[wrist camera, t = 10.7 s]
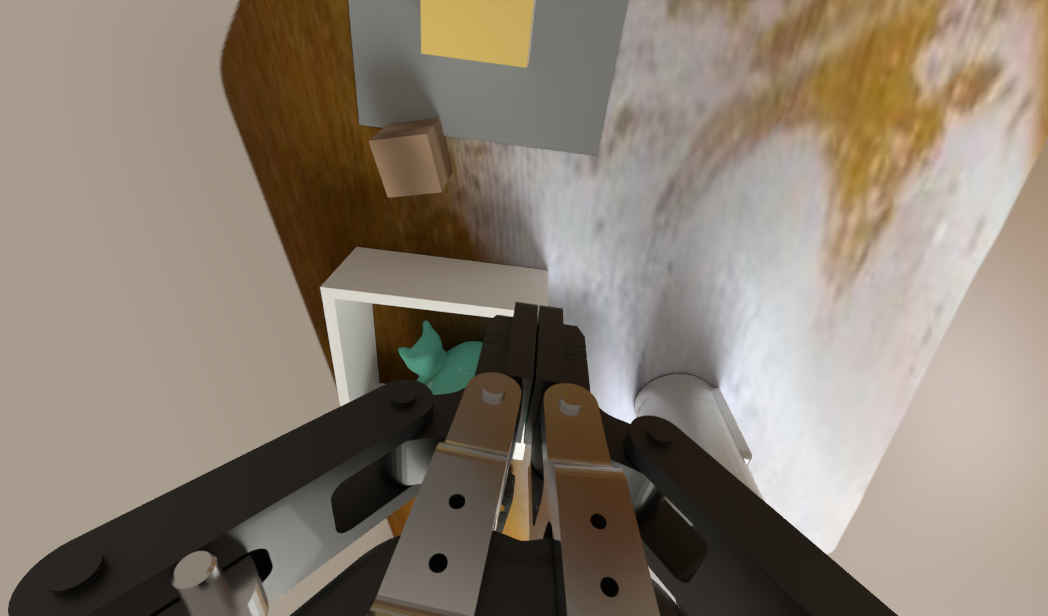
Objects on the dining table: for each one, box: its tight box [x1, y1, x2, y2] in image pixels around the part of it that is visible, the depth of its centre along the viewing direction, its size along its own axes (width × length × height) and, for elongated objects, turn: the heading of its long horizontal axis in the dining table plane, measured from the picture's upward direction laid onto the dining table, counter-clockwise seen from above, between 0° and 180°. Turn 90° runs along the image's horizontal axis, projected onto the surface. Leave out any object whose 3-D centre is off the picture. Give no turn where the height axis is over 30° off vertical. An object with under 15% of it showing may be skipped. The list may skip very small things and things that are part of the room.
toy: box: [398, 321, 483, 395], centre depth 45 cm, size 10×10×15 cm
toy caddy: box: [320, 247, 548, 460], centre depth 44 cm, size 19×19×8 cm
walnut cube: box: [369, 118, 452, 198], centre depth 34 cm, size 4×4×4 cm
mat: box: [348, 0, 628, 156], centre depth 32 cm, size 20×13×1 cm, turn 83°
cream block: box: [420, 0, 536, 68], centre depth 28 cm, size 5×6×7 cm
